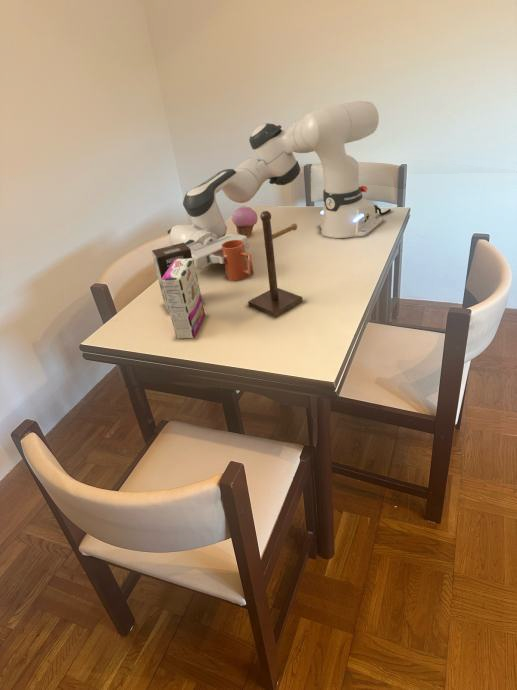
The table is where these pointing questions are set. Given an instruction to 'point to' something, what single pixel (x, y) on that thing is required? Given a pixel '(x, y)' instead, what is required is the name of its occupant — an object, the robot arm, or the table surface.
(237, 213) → the cupcake
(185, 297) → the candy bar box
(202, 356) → the table surface
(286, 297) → the mug stand
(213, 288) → the table surface
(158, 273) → the coffee box
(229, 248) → the mug
